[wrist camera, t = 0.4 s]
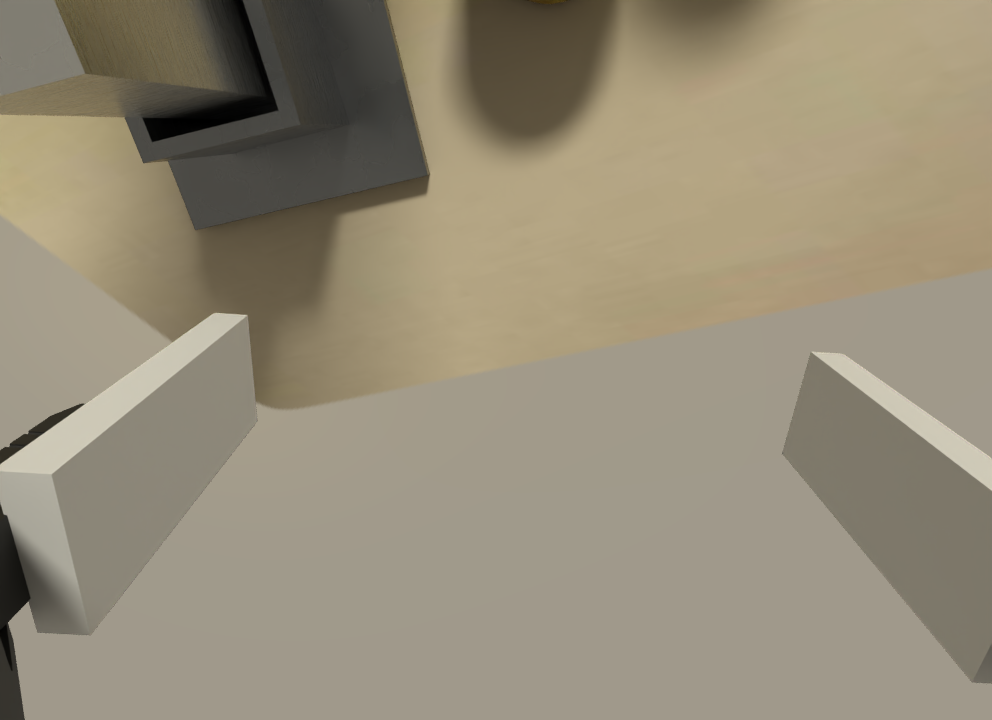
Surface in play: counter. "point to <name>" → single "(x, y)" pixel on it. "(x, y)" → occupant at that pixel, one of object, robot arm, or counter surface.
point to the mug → (547, 1)
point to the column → (131, 59)
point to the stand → (299, 117)
